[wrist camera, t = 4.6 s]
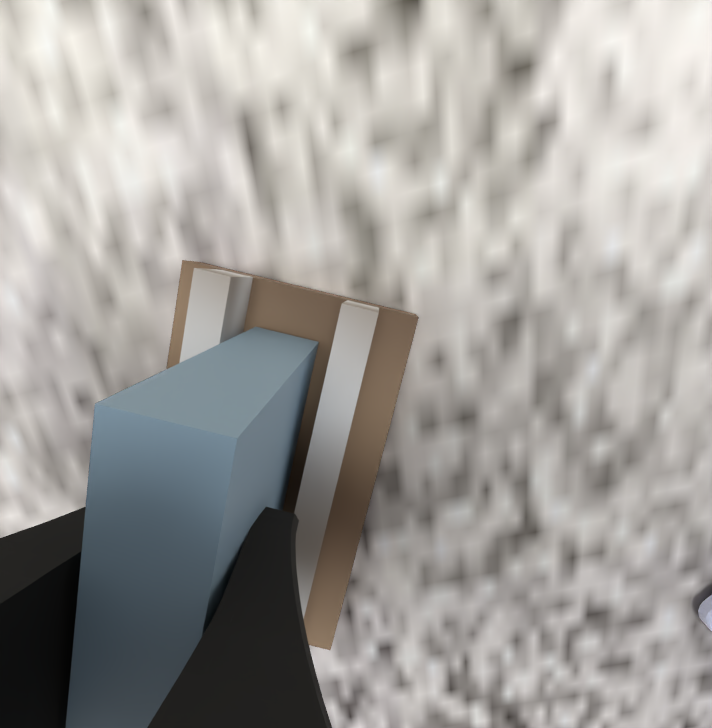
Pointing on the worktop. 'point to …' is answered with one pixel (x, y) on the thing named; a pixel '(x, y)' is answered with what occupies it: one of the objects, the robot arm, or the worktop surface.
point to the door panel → (176, 513)
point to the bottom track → (313, 409)
